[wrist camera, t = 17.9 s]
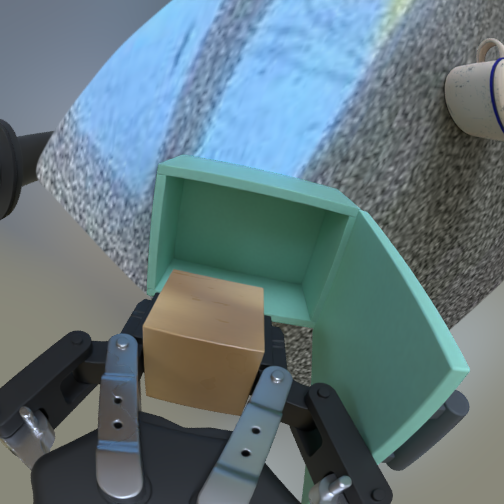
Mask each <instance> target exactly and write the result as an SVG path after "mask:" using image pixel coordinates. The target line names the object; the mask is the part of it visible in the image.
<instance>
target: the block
mask: <svg viewBox="0 0 504 504" xmlns="http://www.w3.org/2000/svg"><path fill="white" fill-rule="evenodd" d="M264 353H265V336H264V288H261V287H256V286H251V285H246V284H241V283H237V282H232V281H227V280H222V279H217V278H213V277H208V276H203V275H199V274H194V273H189V272H185V271H180V270H176V269H173V271H172V272H171V274H170V276H169V278H168V279H167V281H166V283H165V285H164V287H163V289H162V290H161V292H160V294H159V296H158V298H157V300H156V302H155V303H154V305H153V307H152V309H151V311H150V313H149V315H148V317H147V319H146V320H145V322H144V324H143V356H144V373H145V386H146V387H145V388H146V396H149V397H153V398H156V399H160V400H164V401H167V402H171V403H176V404H180V405H184V406H189V407H193V408H198V409H204V410H208V411H214V412H220V413H225V414H231V415H238V416H241V415H242V412H243V410H244V407H245V404H246V402H247V399H248V397H249V394H250V391H251V389H252V386H253V383H254V381H255V378H256V375H257V372H258V370H259V367H260V364H261V361H262V359H263V356H264Z"/></svg>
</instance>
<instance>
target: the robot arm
mask: <svg viewBox="0 0 504 504" xmlns="http://www.w3.org/2000/svg"><path fill="white" fill-rule="evenodd" d="M0 182H1V168H0ZM159 294H160V293H159V292H156V293H155V295H154V297H153V298H152V300H147V299H144V300H143V301H141V302H140V303H138V304H137V306H136V308H135V310H134V311H133V313H132V314H131V316H130V318H129V319H128V321H127V323H126V324H125V326H124V328H123V330H122V332H121V333H120V334H117V335H114V336H112V337H111V338H110V339H109V341H102V342H101V341H91V337H90V336H89V334H87V333H86V332H83V331H72V332H70V333H68V334H67V335H66V336H64V337H63V338H62V339H60V340H59V341H58V342H56V343H55V344H54V345H53V346H51V347H50V348H49V349H48V350H46V351H45V352H44V353H43V354H41V355H40V356H39V357H38V358H36V359H35V360H34V361H33V362H32V363H30V364H29V365H28V366H26V367H25V368H24V369H23V370H22V371H20V372H19V373H18V374H17V375H15V376H14V377H13V378H12V379H11V380H9V381H8V382H7V383H6V384H5V385H4V386H2V387H1V388H0V441H1V443H2V444H3V445H4V446H6V447H7V448H8V449H9V450H10V451H11V452H12V453H13V454H14V455H16V456H17V457H19V458H20V459H21V460H22V461H23V462H24V463H25V465H27V467H28V468H30V470H31V484H32V489H33V499H34V502H33V504H301V503H300V502H299V501H298V500H297V499H296V498H295V497H294V495H293V494H292V493H291V492H290V491H289V490H288V489H287V488H286V487H285V486H284V484H283V483H282V482H281V481H280V480H279V479H278V478H277V476H276V475H275V474H274V473H273V472H272V471H271V469H270V468H269V467H268V466H267V465H266V463H265V461H266V458H267V456H268V453H269V451H270V448H271V445H272V443H273V440H274V438H275V435H276V432H277V429H278V427H279V424H280V422H282V423H285V424H288V425H289V426H290V429H291V431H292V434H293V436H294V438H295V441H296V443H297V446H298V448H299V450H300V452H301V455H302V457H303V460H304V462H305V464H306V467H307V469H308V471H309V474H310V476H311V478H312V481H313V483H314V486H313V487H312V488H311V489H310V491H309V501H310V504H390V503H391V501H392V497H393V494H392V490H391V488H390V486H389V485H388V483H387V481H386V479H385V478H384V476H383V474H382V472H381V471H380V469H379V467H378V465H377V463H376V461H375V460H374V458H373V456H372V454H371V453H370V451H369V449H368V447H367V445H366V444H365V442H364V440H363V438H362V437H361V435H360V433H359V431H358V430H357V428H356V426H355V424H354V422H353V421H352V419H351V417H350V415H349V414H348V412H347V410H346V408H345V407H344V405H343V403H342V401H341V400H340V398H339V396H338V394H337V393H336V391H335V390H334V388H333V387H331V386H330V385H328V384H325V383H315V384H313V385H311V386H310V387H308V386H305V385H303V384H300V383H298V382H296V381H294V380H293V379H292V376H291V374H290V373H289V372H288V371H287V363H286V353H285V343H284V334H283V333H282V331H281V329H280V328H279V327H274V326H272V321H271V316H267V315H264V336H265V353H264V356H263V359H262V361H261V364H260V367H259V370H258V372H257V375H256V378H255V381H254V383H253V386H252V389H251V391H250V394H249V395H252V396H251V398H250V400H249V401H248V403H247V405H246V407H245V409H244V411H243V413H242V415H241V417H240V419H239V421H238V423H237V425H236V427H235V429H234V431H228V430H221V429H215V428H184V427H181V426H179V425H177V424H175V423H173V422H171V421H169V420H167V419H164V418H163V417H160V416H156V415H152V414H149V413H145V412H142V411H141V388H140V379H141V376H142V373H143V372H144V356H143V324H144V322H145V320H146V319H147V317H148V315H149V313H150V311H151V309H152V307H153V305H154V303H155V302H156V300H157V298H158V296H159ZM98 384H100V396H99V413H98V428H97V429H96V430H94V431H92V432H90V433H88V434H86V435H84V436H82V437H80V438H78V439H76V440H74V441H72V442H70V443H68V444H66V445H64V446H61V447H59V448H57V449H55V450H53V451H51V452H50V448H51V447H52V444H53V443H54V440H55V432H54V429H55V428H56V427H57V426H58V425H59V424H60V423H61V422H62V421H63V420H64V419H65V418H66V417H67V416H68V415H69V414H70V412H72V411H73V409H75V408H76V407H77V406H78V404H79V403H80V402H81V401H82V400H83V399H84V398H85V397H86V396H87V395H88V394H89V393H90V392H91V391H92V390H93V389H94V388H95V387H96V386H97V385H98Z"/></svg>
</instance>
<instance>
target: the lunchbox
mask: <svg viewBox="0 0 504 504" xmlns="http://www.w3.org/2000/svg"><path fill="white" fill-rule="evenodd" d="M359 210H361V209H360V208H359V207H358V206H357V205H355V204H354V203H353V202H352V201H351V200H349V199H348V198H347V197H346V196H345V195H343V194H342V193H341V192H340V191H339V190H337V189H335V188H331V187H328V186H324V185H320V184H317V183H313V182H309V181H305V180H302V179H298V178H294V177H290V176H286V175H282V174H277V173H273V172H269V171H264V170H260V169H256V168H251V167H246V166H242V165H237V164H232V163H227V162H222V161H217V160H211V159H206V158H200V157H195V156H189V155H180V156H178V157H175V158H172V159H170V160H167V161H164V162H162V163H159V164H158V169H157V175H156V183H155V191H154V199H153V208H152V218H151V229H150V241H149V255H148V273H147V295H149V296H153V297H154V295H155V293H156V292H159V293H160V292H161V290H162V289H163V287H164V285H165V283H166V281H167V279H168V278H169V276H170V274H171V272H172V271H173V269H176V270H180V271H185V272H189V273H194V274H199V275H203V276H208V277H213V278H217V279H222V280H227V281H232V282H237V283H241V284H246V285H251V286H256V287H261V288H264V315H267V316H271V321H272V322H278V323H284V324H290V325H296V326H303V327H309V328H314V326H315V324H316V322H317V320H318V317H319V315H320V312H321V310H322V308H323V305H324V303H325V300H326V298H327V296H328V293H329V291H330V288H331V286H332V283H333V281H334V278H335V275H336V273H337V270H338V268H339V265H340V262H341V260H342V257H343V254H344V251H345V249H346V246H347V243H348V240H349V237H350V235H351V232H352V229H353V226H354V223H355V220H356V217H357V214H358V211H359Z"/></svg>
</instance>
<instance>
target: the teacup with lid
mask: <svg viewBox="0 0 504 504" xmlns="http://www.w3.org/2000/svg"><path fill="white" fill-rule="evenodd" d="M493 46H497V48H498V50H499V55H500V58H499V59H498V60H496V61H489V62H485V56H486V53H487V52H488V50H489V49H490V48H492V47H493ZM476 62H477V63H475V64H469V65H463V66H458V67H455V68H453V69H452V70H451V71H450V73H449V74H448V76H447V78H446V82H445V99H446V104H447V107H448V110H449V112H450V115H451V117H452V118H453V120H454V122H455V123H456V124H457V126H458V127H459V128H460V129H461V130H463V131H464V132H465V133H467V134H469V135H472V136H477V137H483V138H488V139H494V140H499V141H504V45H503V44H502V43H501V42H500V41H498V40H496V39H494V38H488V39H486V40H484V41H483V42H482V43H481V44H480V45H479V47H478V50H477V54H476Z"/></svg>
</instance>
